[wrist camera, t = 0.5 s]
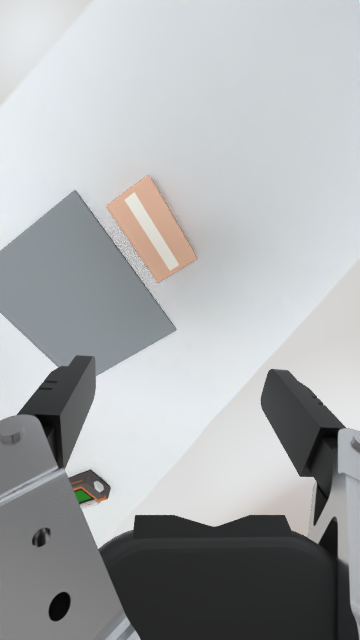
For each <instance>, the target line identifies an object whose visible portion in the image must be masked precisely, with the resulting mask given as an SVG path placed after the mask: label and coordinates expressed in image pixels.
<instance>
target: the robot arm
mask: <svg viewBox="0 0 360 640" xmlns="http://www.w3.org/2000/svg"><path fill="white" fill-rule="evenodd" d="M95 388H96V363H95V357H94V356H81V355H76V356H75V357H74V359H73V360H72V362H71V363H70V364H69V366H60V367H59V368H57V369H56V370H54V371H52V372H51V373H50V374H49V375H48V377H47V378H46V379H45V380H44V382H43V383H42V384H41V385H40V387H39V389H37V390H36V392H35V393H34V394H33V395H32V397H31V398H30V399H29V400H28V402H27V403H26V404H25V405H24V407H23V408H22V409H21V410H20V412H19V413H18V414H17V415H16V416H12V417H8V418H6V419H3V420H1V421H0V640H360V431H357V430H354V429H350V428H346V427H345V426H344V425H343V424H342V423H341V422H340V421H339V420H338V419H337V418H336V417H335V416H334V414H332V412H331V411H330V410H329V409H328V408H327V407H326V406H325V405H323V403H322V402H321V401H320V400H319V399H318V398H317V396H316V395H315V394H314V393H313V392H312V391H311V390H310V389H309V388H308V387H306V386H305V385H303V384H302V383H300V382H299V381H297V380H296V378H295V377H294V376H293V375H292V374H291V373H290V372H289V371H287V370H278V369H271V370H269V372H268V374H267V378H266V381H265V385H264V388H263V392H262V396H261V406H262V409H263V411H264V413H265V415H266V417H267V419H268V420H269V422H270V424H271V425H272V427H273V429H274V431H275V433H276V434H277V436H278V438H279V440H280V442H281V444H282V445H283V447H284V449H285V451H286V452H287V454H288V456H289V458H290V459H291V461H292V463H293V465H294V467H295V468H296V470H297V472H298V474H299V476H301V477H314V478H315V480H316V482H315V485H314V487H313V494H312V504H311V514H310V523H309V532H308V537H305V536H304V535H301V534H299V533H297V532H294V531H291V529H290V527H289V524H288V522H287V519H286V517H285V515H249V516H246V517H243V518H240V519H238V520H235V521H232V522H229V523H226V524H223V525H221V526H217V527H212V526H208V525H205V524H201V523H198V522H195V521H191V520H188V519H185V518H181V517H178V516H175V515H136V516H135V522H134V530H131V531H128V532H125V533H123V534H121V535H119V536H117V537H115V538H113V539H112V540H110V541H109V542H107V543H105V544H104V545H103V546H102V547H101V548H99V549H98V548H97V545H96V543H95V541H94V538H93V536H92V533H91V531H90V529H89V526H88V524H87V521H86V519H85V517H84V514H83V512H82V509H81V507H80V505H79V502H78V500H77V498H76V495H75V493H74V490H73V488H72V486H71V483H70V481H69V478H68V476H67V474H66V472H65V468H66V465H67V463H68V460H69V458H70V455H71V453H72V451H73V448H74V446H75V443H76V441H77V438H78V436H79V434H80V431H81V429H82V426H83V424H84V421H85V419H86V417H87V414H88V412H89V409H90V407H91V405H92V402H93V399H94V395H95Z"/></svg>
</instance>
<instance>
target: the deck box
mask: <svg viewBox="0 0 360 640" xmlns="http://www.w3.org/2000/svg"><path fill="white" fill-rule="evenodd" d="M106 207H107V209H108V210H109V212H110V213H111V215H112V216H113V218H114V219H115V221H116V222H117V224H118V225H119V227H120V228H121V230H122V231H123V233H124V234H125V235H126V237H127V238H128V240H129V241H130V243H131V244H132V246H133V247H134V249H135V250H136V252H137V253H138V255H139V256H140V258H141V259H142V261H143V262H144V263H145V265H146V266H147V268H148V269H149V271H150V272H151V274H152V275H153V277H154V278H155V280H156V281H157V283H159V282H161V281H162V280H164V279H166V278H167V277H169V276H170V275H172V274H174V273H175V272H177V271H179V270H180V269H182V268H183V267H185V266H187V265H188V264H190V263H192V262H193V261H195V260H196V259H197V258H196V255H195V253H194V251H193V249H192V248H191V246H190V244H189V242H188V241H187V239H186V237H185V235H184V234H183V232H182V230H181V228H180V227H179V225H178V223H177V222H176V220H175V218H174V216H173V215H172V213H171V211H170V209H169V208H168V206H167V204H166V202H165V201H164V199H163V197H162V195H161V194H160V192H159V190H158V189H157V187H156V185H155V183H154V182H153V180H152V178H151V177H150V176H149V175H147V176H146V177H145V178H143V179H142V180H141V181H139V182H138V183H137V184H135V185H134V186H133V187H131V188H130V189H129V190H127V191H126V192H124V193H123V194H122V195H120V196H119V197H118V198H116V199H115V200H114V201H112V202H111V203H110V204H108V205H107V206H106Z"/></svg>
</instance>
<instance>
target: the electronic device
mask: <svg viewBox="0 0 360 640" xmlns="http://www.w3.org/2000/svg"><path fill="white" fill-rule="evenodd" d="M69 481H70V483H71V486H72V488H73V490H74V493H75V495H76V498H77V500H78V502H79V505H80V507H81V509H84V508H87V507H90V506H94V505H97V504H99V503H100V501H103V500H106V499H108V496H109V492H110V489H111V488H110V487H109V486H108V485H107V484H106V483H104V482H103V481H102V480H101V479H100V478H98V477H97V476H96V475H95V474H94V473H93V472H91V471H88V472H85V473H82V474H79V475H76V476H73V477H70V478H69Z"/></svg>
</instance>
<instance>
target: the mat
mask: <svg viewBox="0 0 360 640" xmlns="http://www.w3.org/2000/svg"><path fill="white" fill-rule="evenodd" d="M0 313H1V314H2V315H3V316H5V317H6V318H7V319H8V320H9V321H10V322H11V323H12V324H13V325H14V326H15V327H16V328H17V329H18V330H19V331H20V332H21V333H23V334H24V335H25V336H26V337H27V338H28V339H29V340H30V341H31V342H32V343H33V344H34V345H35V346H36V347H37V348H38V349H39V350H41V351H42V352H43V353H44V354H45V355H46V356H47V357H48V358H49V359H50V360H51V361H52V362H53V363H54V364H55V365H56V366H57V367H60V366H69V364H70V363H71V362H72V360H73V359H74V357H75V356H76V355H81V356H94V357H95V363H96V376H97V375H99V374H101V373H102V372H104V371H106V370H108V369H109V368H111V367H113V366H115V365H116V364H118V363H120V362H122V361H123V360H125V359H127V358H129V357H130V356H132V355H134V354H136V353H137V352H139V351H141V350H143V349H144V348H146V347H148V346H150V345H151V344H153V343H155V342H157V341H158V340H160V339H162V338H164V337H165V336H167V335H169V334H171V333H172V332H174V331H176V328H175V327H174V325H173V324H172V322H171V321H170V320H169V318H168V317H167V316H166V314H165V313H164V311H163V310H162V309H161V307H160V306H159V305H158V303H157V302H156V300H155V299H154V298H153V296H152V295H151V294H150V292H149V291H148V289H147V288H146V287H145V285H144V284H143V282H142V281H141V280H140V278H139V277H138V276H137V274H136V273H135V271H134V270H133V269H132V267H131V266H130V265H129V263H128V262H127V260H126V259H125V258H124V256H123V255H122V254H121V252H120V251H119V249H118V248H117V247H116V245H115V244H114V243H113V241H112V240H111V238H110V237H109V236H108V234H107V233H106V232H105V230H104V229H103V227H102V226H101V225H100V223H99V222H98V221H97V219H96V218H95V216H94V215H93V214H92V212H91V211H90V209H89V208H88V207H87V205H86V204H85V203H84V201H83V200H82V198H81V197H80V196H79V194H78V193H77V192H76V191H75V190H74V191H73V192H72V193H71V194H69V195H68V196H67V197H66V198H65V199H63V200H62V201H61V202H60V203H58V204H57V205H56V206H55V207H54V208H52V209H51V210H50V211H49V212H47V213H46V214H45V215H44V216H43V217H41V218H40V219H39V220H38V221H36V222H35V223H34V224H33V225H32V226H30V227H29V228H28V229H27V230H25V231H24V232H23V233H22V234H20V235H19V236H18V237H17V238H16V239H14V240H13V241H12V242H11V243H9V244H8V245H7V246H6V247H5V248H3V249H2V250H1V251H0Z"/></svg>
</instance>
